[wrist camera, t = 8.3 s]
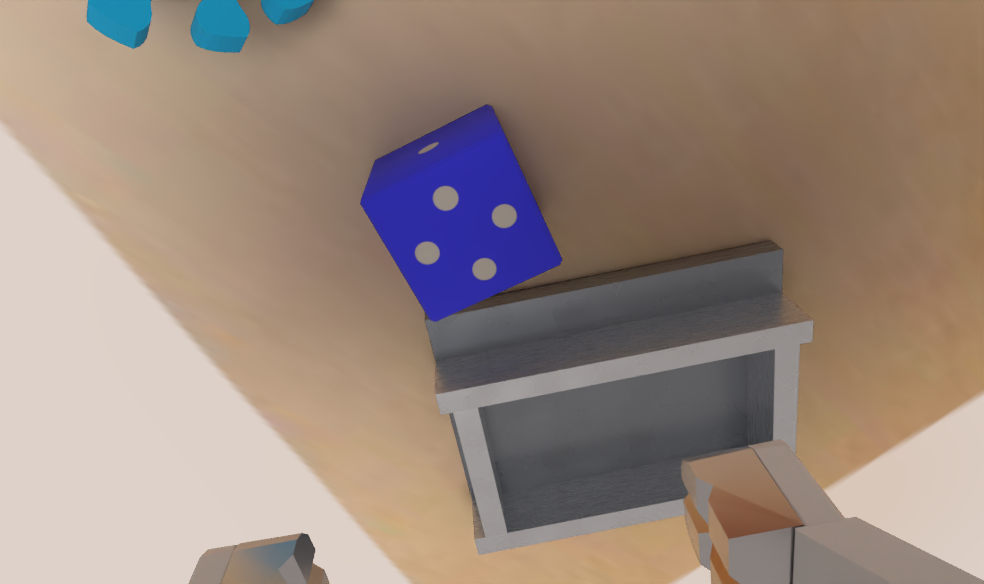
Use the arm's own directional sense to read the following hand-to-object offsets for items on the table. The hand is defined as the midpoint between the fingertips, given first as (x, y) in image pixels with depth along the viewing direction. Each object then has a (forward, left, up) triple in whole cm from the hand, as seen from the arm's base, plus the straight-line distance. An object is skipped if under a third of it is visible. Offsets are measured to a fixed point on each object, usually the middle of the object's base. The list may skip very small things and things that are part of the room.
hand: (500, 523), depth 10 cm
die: (0, 0, -17) cm, 17 cm away
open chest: (-5, +11, -17) cm, 21 cm away
